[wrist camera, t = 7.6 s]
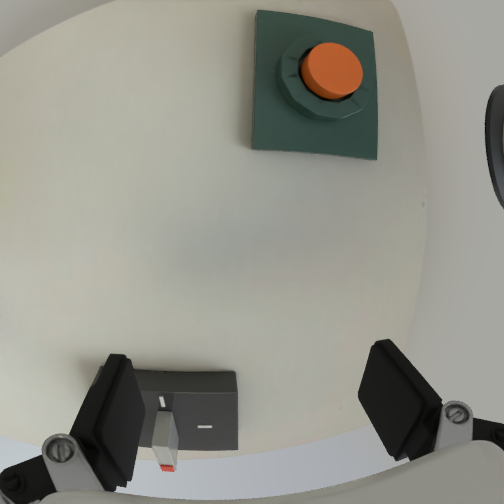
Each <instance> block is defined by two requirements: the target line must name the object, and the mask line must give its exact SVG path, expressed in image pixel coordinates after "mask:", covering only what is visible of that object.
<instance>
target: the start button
mask: <svg viewBox="0 0 504 504" xmlns="http://www.w3.org/2000/svg"><path fill="white" fill-rule="evenodd" d="M301 74H302V77H303V80H304V82H305V84H306V85H307V86H308V88H309V89H310V90H311V91H312V92H314V93H315V94H317V95H318V96H321V97H323V98H327V99H338V98H341V97H343V96H345V95H347V94H349V93H351V92H353V91H355V90H356V89H357V88H358V87H359V86H360V84H361V81H362V77H363V72H362V67H361V64H360V62H359V60H358V58H357V57H356V56H355V55H354V54H353V53H352V52H351V51H350V50H349V49H347V48H346V47H344V46H342V45H340V44H336V43H322V44H319V45H317V46H316V47H314V48H313V49H312V50H311V52H310V53H309V54H308V55H307V56H306V57H305V59H304V60H303V62H302V66H301Z"/></svg>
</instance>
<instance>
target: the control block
mask: <svg viewBox="0 0 504 504" xmlns="http://www.w3.org/2000/svg"><path fill="white" fill-rule="evenodd" d="M322 43H336V44H340V45H342V46H344V47H346V48H347V49H349V50H350V51H351V52H352V53H353V54H354V55H355V56H356V57H357V58H358V60H359V62H360V64H361V67H362V72H363V77H362V81H361V84H360V86H359V87H358V88H357V89H356V90H355V91H353V92H351V93H349V94H347V95H345V96H343V97H341V98H338V99H327V98H323V97H321V96H318V95H317V94H315V93H314V92H312V91H311V90H310V89H309V88H308V86H307V85H306V84H305V82H304V80H303V77H302V74H301V66H302V62H303V60H304V59H305V57H306V56H307V55H308V54H309V53H310V52H311V50H312V49H313V48H314V47H316V46H317V45H319V44H322ZM377 143H378V103H377V77H376V62H375V50H374V39H373V32H371V31H367V30H364V29H361V28H357V27H353V26H350V25H346V24H342V23H338V22H333V21H329V20H324V19H319V18H314V17H309V16H303V15H297V14H290V13H283V12H274V11H265V10H257V13H256V17H255V49H254V81H253V115H252V150H263V151H283V152H298V153H310V154H321V155H331V156H340V157H349V158H357V159H364V160H377Z"/></svg>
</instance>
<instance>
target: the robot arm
mask: <svg viewBox="0 0 504 504" xmlns="http://www.w3.org/2000/svg"><path fill="white" fill-rule="evenodd" d="M503 153H504V124H503ZM358 399H359V401H360V403H361V404H362V406H363V408H364V410H365V412H366V413H367V415H368V417H369V419H370V421H371V423H372V424H373V426H374V428H375V430H376V432H377V433H378V435H379V437H380V439H381V441H382V442H383V445H384V446H385V448H386V450H387V452H388V454H389V455H390V456H393V457H394V459H395V460H396V461H399V460H402V459H404V458H407V457H408V458H409V460H410V462H407V463H405V464H402V465H400V466H397V467H394V468H392V469H389V470H386V471H383V472H380V473H377V474H374V475H371V476H368V477H365V478H361V479H358V480H354V481H350V482H347V483H343V484H339V485H335V486H331V487H326V488H321V489H317V490H312V491H306V492H301V493H294V494H288V495H281V496H274V497H264V498H252V499H239V500H185V499H169V498H168V499H167V498H156V497H147V496H138V495H132V494H124V493H116V492H114V491H116V487H117V486H120V487H126V485H127V481H131V480H132V476H133V470H134V465H135V460H136V455H137V450H138V445H139V440H140V436H141V431H142V427H143V422H144V418H145V405H144V402H143V399H142V396H141V393H140V390H139V386H138V383H137V380H136V376H135V373H134V369H133V366H132V362H131V360H130V359H128V358H127V357H126V356H125V355H124V354H110V355H109V357H108V359H107V361H106V363H105V365H104V367H103V369H102V371H101V373H100V375H99V377H98V380H97V382H96V384H95V385H94V384H93V385H92V386H91V387H90V389H89V391H88V393H87V395H86V397H85V399H84V401H83V404H82V406H81V408H80V410H79V413H78V415H77V417H76V419H75V422H74V424H73V426H72V429H71V431H70V433H69V435H67V434H55V435H52V436H50V437H49V438H47V439H46V440H45V442H44V443H43V445H42V455H39V456H37V457H34V458H32V459H30V460H27V461H24V462H22V463H19V464H17V465H14V466H11V467H8V468H6V469H4V470H3V471H2V472H1V474H0V504H504V424H502V423H497V422H492V421H487V420H482V419H477V418H473V414H472V410H471V409H470V407H469V406H468V405H466V404H465V403H463V402H460V401H449V402H447V403H445V404H444V405H443V404H442V403H441V401H442V399H441V398H440V397H439V395H438V394H437V393H436V392H435V391H434V389H433V388H432V387H431V386H430V385H429V383H428V382H427V381H426V380H425V379H424V377H423V376H422V375H421V374H420V373H419V372H418V370H417V369H416V368H415V367H414V366H413V365H412V364H411V362H410V361H409V360H408V359H407V358H406V357H405V355H404V354H403V353H402V352H401V351H400V350H399V349H398V348H397V346H396V345H395V344H394V343H393V342H392V341H391V340H390V339H385V340H379V341H376V342H375V343H374V345H372V346H371V349H370V353H369V357H368V360H367V364H366V367H365V371H364V374H363V378H362V381H361V384H360V388H359V391H358Z"/></svg>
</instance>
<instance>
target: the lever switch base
mask: <svg viewBox="0 0 504 504" xmlns="http://www.w3.org/2000/svg"><path fill="white" fill-rule="evenodd" d="M102 369H103V367H102V366H101V367H100V368H99V370H98V373H97V375H96V377H95V379H94V381H93V383H92V385H93V384H94V385H95V384H96V382H97V380H98V377H99V375H100V373H101V371H102ZM134 373H135V376H136V380H137V383H138V386H139V390H140V393H141V396H142V399H143V402H144V405H145V418H144V422H143V427H142V431H141V436H140V440H139V445H138V446H140V447H149V448H152V446H151V445H152V439H153V433H154V427H155V421H156V416H157V411H170V412H172V413H173V417H174V421H175V425H176V429H177V433H178V437H179V441H178V450H198V451H222V450H238V389H237V380H236V372H166V371H147V370H134Z"/></svg>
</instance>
